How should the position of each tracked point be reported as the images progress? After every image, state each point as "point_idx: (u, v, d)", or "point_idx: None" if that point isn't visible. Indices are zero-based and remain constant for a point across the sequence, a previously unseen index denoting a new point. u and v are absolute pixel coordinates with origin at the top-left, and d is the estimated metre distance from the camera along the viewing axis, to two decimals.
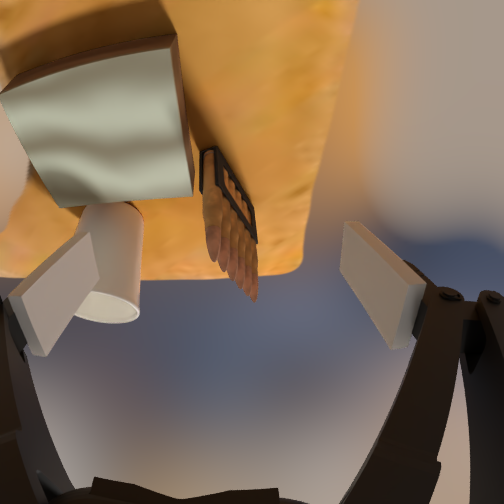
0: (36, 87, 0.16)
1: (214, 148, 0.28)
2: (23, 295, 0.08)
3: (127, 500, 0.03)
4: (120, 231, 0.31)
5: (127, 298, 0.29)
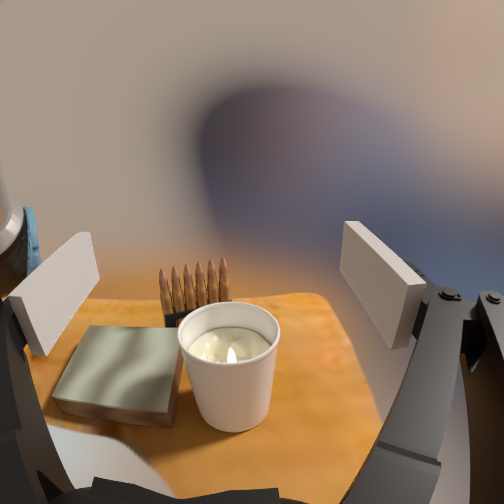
0: (66, 373, 0.32)
1: None
2: (23, 295, 0.08)
3: (127, 500, 0.03)
4: None
5: None
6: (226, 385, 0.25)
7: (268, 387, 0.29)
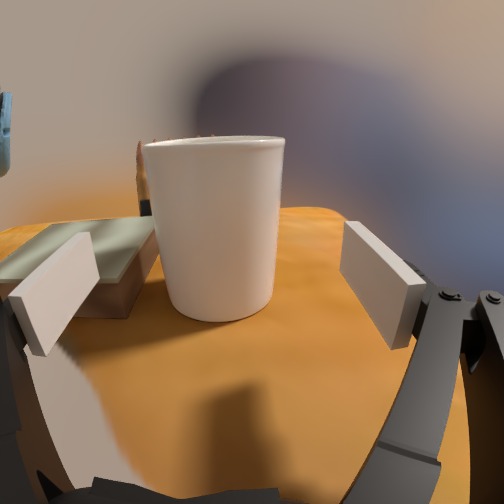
0: (7, 259, 0.23)
1: None
2: (23, 295, 0.08)
3: (127, 500, 0.03)
4: None
5: (192, 142, 0.24)
6: (204, 194, 0.17)
7: (271, 228, 0.20)
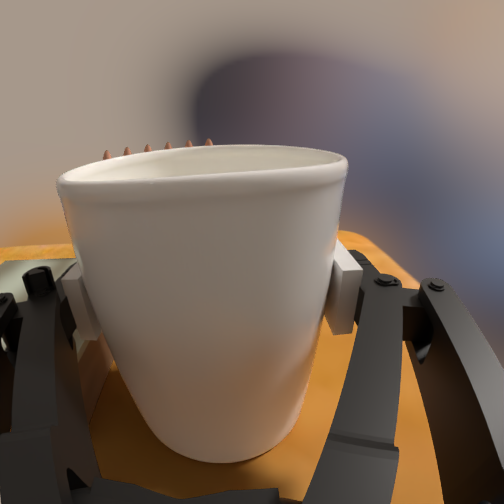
0: None
1: None
2: (79, 278, 0.10)
3: (127, 500, 0.03)
4: None
5: None
6: (177, 303, 0.07)
7: (315, 336, 0.10)
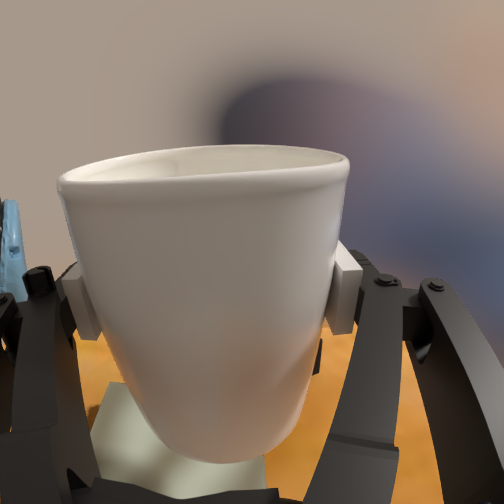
0: None
1: None
2: (79, 278, 0.10)
3: (127, 500, 0.03)
4: None
5: None
6: (178, 304, 0.07)
7: (316, 336, 0.10)
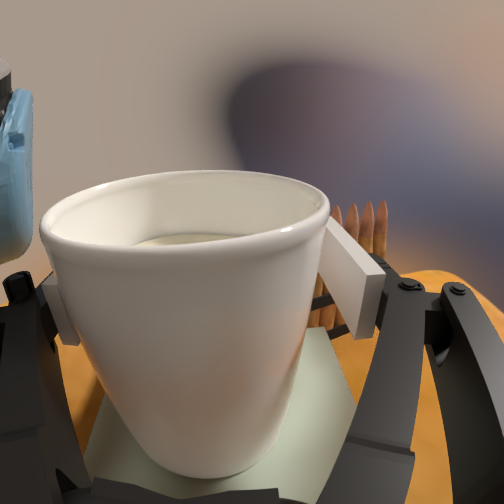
0: (96, 451, 0.12)
1: None
2: None
3: (127, 500, 0.03)
4: None
5: None
6: (154, 354, 0.07)
7: (291, 372, 0.10)
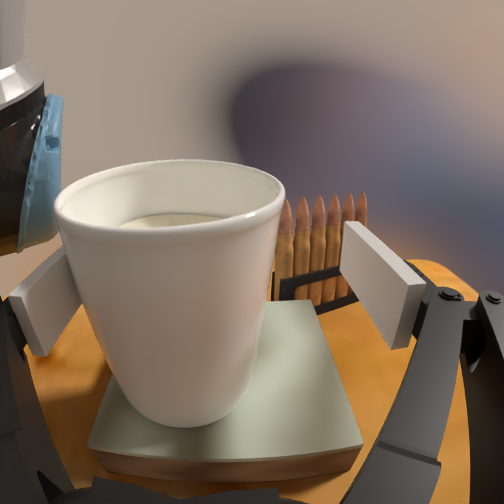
0: (113, 394, 0.16)
1: None
2: (23, 295, 0.08)
3: (127, 500, 0.03)
4: None
5: None
6: (153, 309, 0.10)
7: (257, 326, 0.13)
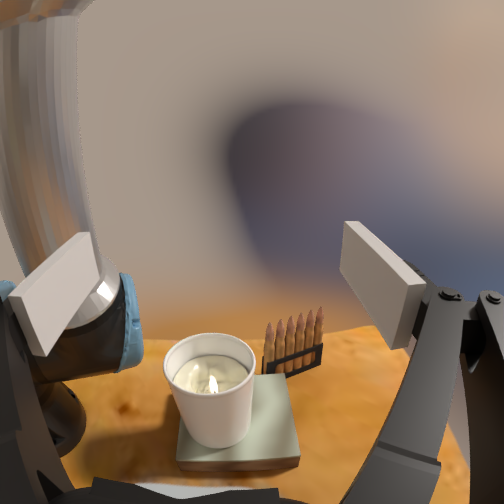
0: (183, 433, 0.34)
1: None
2: (23, 295, 0.08)
3: (127, 500, 0.03)
4: None
5: None
6: (214, 411, 0.28)
7: (249, 406, 0.31)
